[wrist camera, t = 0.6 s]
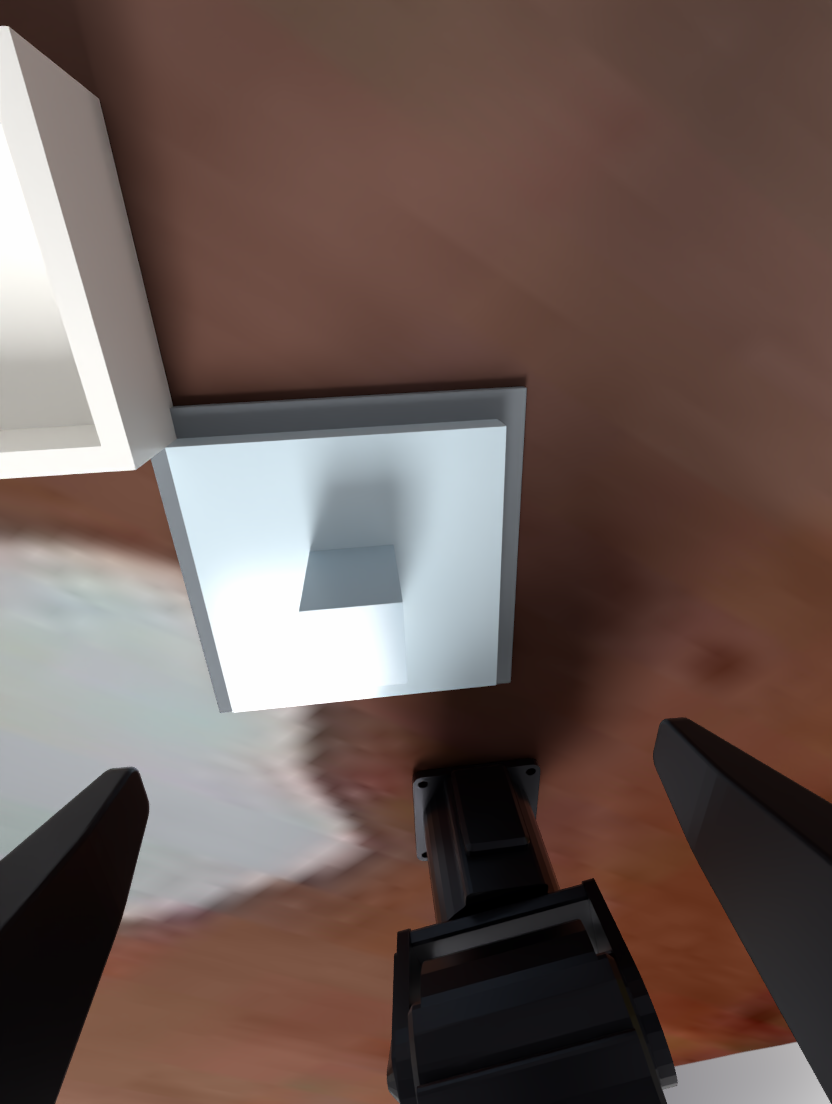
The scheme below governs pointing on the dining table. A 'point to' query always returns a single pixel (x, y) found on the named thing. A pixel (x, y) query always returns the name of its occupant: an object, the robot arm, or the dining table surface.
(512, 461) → the mat
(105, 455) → the white open box
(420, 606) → the lid
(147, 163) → the dining table surface
